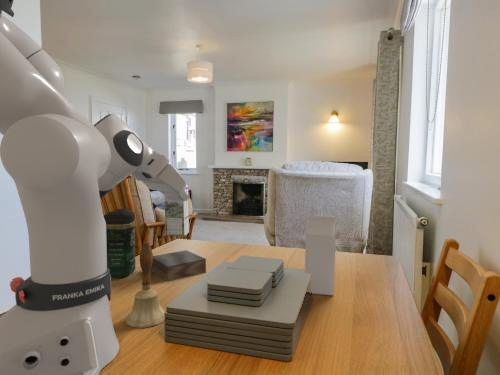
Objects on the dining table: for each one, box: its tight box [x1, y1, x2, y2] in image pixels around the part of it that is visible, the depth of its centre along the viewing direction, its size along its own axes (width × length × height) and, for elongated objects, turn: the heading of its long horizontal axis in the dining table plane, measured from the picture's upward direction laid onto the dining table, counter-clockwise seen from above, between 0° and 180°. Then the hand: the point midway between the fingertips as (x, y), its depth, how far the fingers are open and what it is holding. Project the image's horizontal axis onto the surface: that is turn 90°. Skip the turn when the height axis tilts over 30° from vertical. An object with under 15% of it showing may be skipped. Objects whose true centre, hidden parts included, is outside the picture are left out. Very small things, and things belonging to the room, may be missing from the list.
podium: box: [150, 249, 207, 282], centre depth 102 cm, size 12×12×4 cm
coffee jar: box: [103, 208, 137, 279], centre depth 99 cm, size 10×8×19 cm
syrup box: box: [163, 184, 190, 237], centre depth 101 cm, size 6×6×14 cm
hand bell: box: [125, 241, 166, 329], centre depth 71 cm, size 8×8×16 cm
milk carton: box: [304, 214, 337, 296], centre depth 88 cm, size 7×7×19 cm
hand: (178, 197), depth 101 cm, fingers closed on syrup box, 8 cm apart
